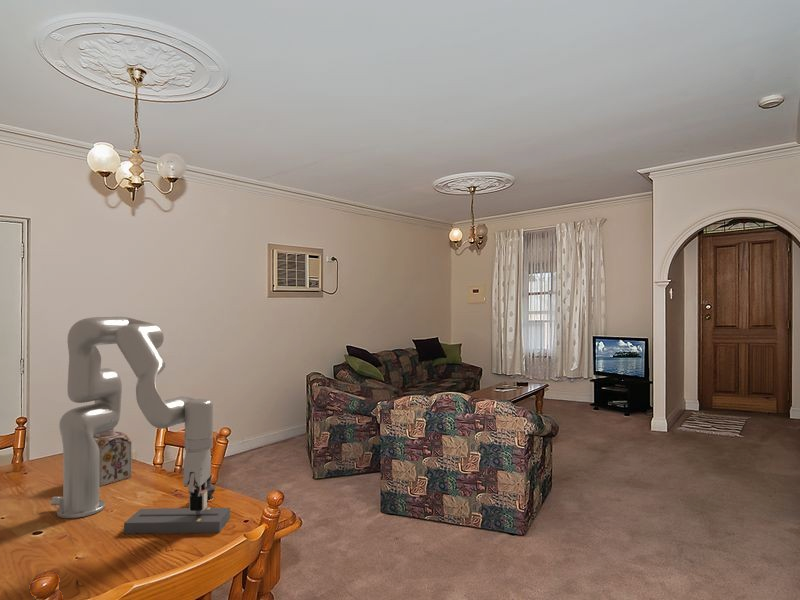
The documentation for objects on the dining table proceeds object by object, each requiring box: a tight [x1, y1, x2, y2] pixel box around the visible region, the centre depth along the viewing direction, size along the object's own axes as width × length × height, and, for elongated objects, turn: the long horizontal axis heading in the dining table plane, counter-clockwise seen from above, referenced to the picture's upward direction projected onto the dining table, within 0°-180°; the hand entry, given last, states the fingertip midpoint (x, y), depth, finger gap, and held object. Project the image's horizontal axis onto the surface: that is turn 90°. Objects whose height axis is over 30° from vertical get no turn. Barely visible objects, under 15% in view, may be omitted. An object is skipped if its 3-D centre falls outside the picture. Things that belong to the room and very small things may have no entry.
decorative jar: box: [93, 427, 133, 487], centre depth 189 cm, size 12×12×18 cm
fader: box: [188, 490, 208, 515], centre depth 150 cm, size 4×3×6 cm
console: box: [123, 506, 231, 535], centre depth 150 cm, size 26×10×3 cm, turn 92°
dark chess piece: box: [207, 474, 216, 500], centre depth 170 cm, size 6×6×12 cm
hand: (198, 507), depth 150 cm, fingers closed on fader, 3 cm apart
